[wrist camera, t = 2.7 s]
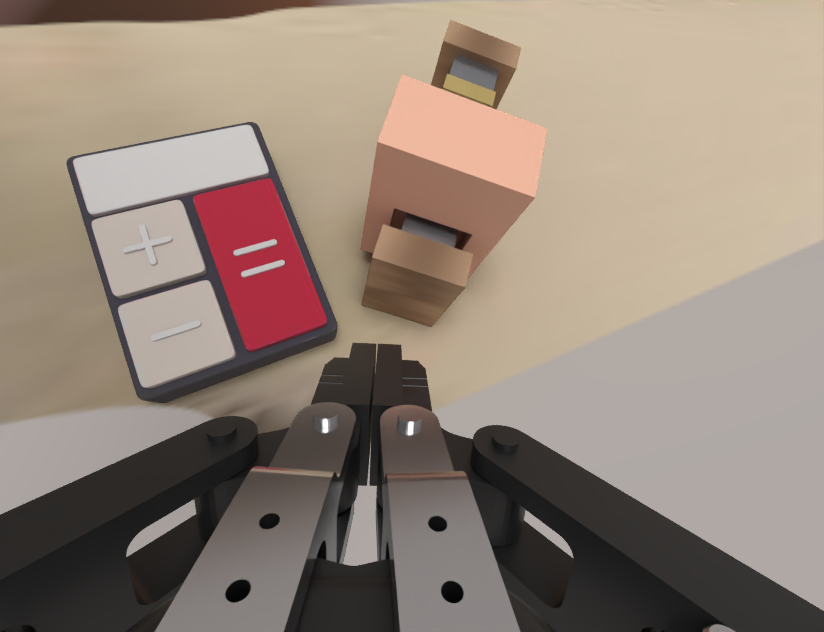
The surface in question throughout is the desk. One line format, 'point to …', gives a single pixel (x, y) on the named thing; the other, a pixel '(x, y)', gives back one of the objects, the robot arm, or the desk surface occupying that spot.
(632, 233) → the desk surface
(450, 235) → the grey metal bar
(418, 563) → the robot arm
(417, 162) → the collar
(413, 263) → the stand
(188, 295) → the calculator
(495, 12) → the desk surface
